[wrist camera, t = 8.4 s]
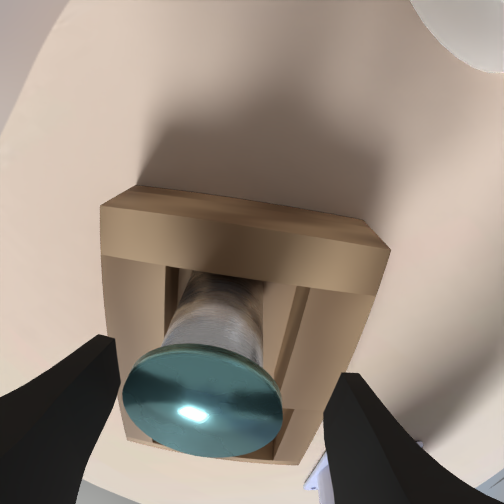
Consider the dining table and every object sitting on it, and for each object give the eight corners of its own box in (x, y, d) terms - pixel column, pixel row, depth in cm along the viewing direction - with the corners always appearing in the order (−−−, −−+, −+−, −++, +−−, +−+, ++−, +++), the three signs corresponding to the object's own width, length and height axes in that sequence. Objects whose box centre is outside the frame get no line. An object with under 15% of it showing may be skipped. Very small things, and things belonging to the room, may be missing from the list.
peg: (285, 253, 14) (303, 376, 7) (263, 335, 16) (263, 465, 9) (183, 234, 14) (116, 339, 7) (174, 318, 16) (128, 439, 9)
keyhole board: (362, 220, 15) (391, 250, 11) (294, 422, 21) (298, 465, 17) (135, 185, 15) (99, 205, 11) (141, 399, 20) (127, 440, 17)
